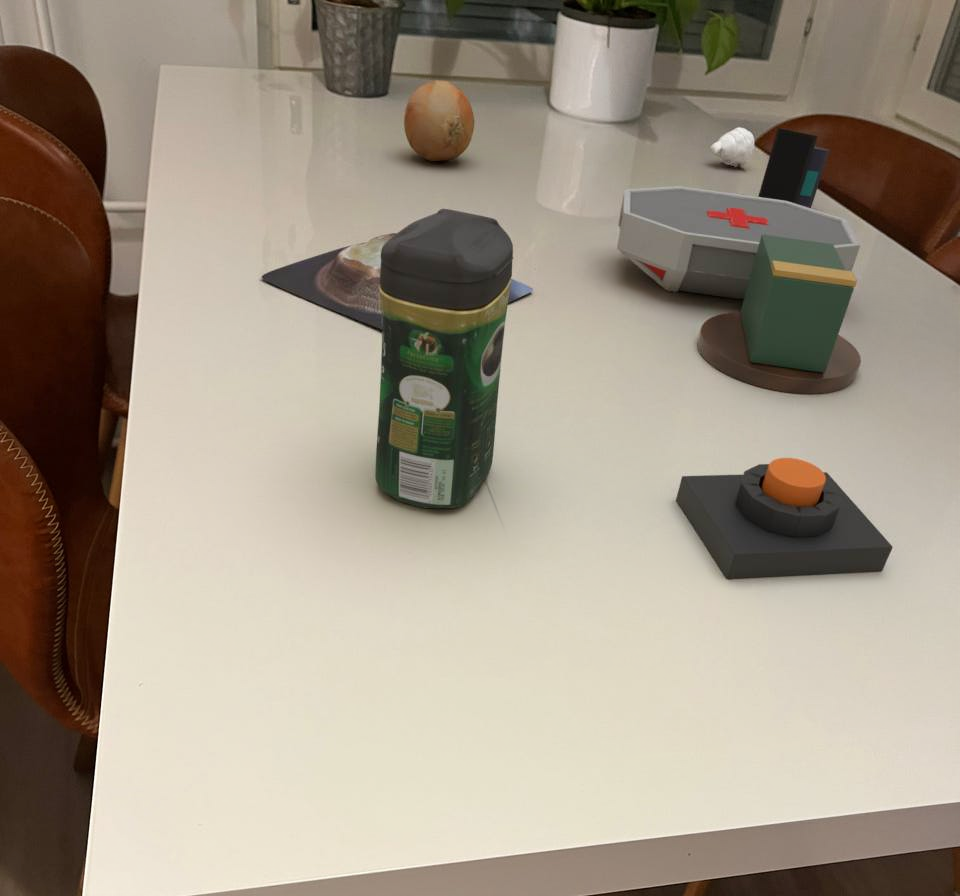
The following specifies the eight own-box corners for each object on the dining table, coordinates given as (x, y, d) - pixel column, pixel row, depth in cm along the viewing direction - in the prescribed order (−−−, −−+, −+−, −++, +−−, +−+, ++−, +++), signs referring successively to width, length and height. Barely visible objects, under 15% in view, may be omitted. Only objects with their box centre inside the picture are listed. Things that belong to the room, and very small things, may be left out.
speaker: (789, 221, 132) (813, 136, 126) (752, 211, 135) (775, 127, 129) (816, 219, 137) (841, 136, 131) (781, 209, 140) (804, 128, 134)
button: (802, 477, 72) (810, 456, 71) (828, 507, 69) (836, 486, 68) (752, 479, 71) (759, 457, 70) (776, 509, 68) (783, 487, 67)
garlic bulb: (699, 161, 153) (707, 123, 149) (730, 161, 155) (739, 123, 152) (718, 172, 149) (727, 133, 146) (750, 171, 151) (760, 132, 148)
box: (738, 313, 101) (762, 227, 95) (808, 323, 101) (836, 237, 95) (749, 362, 92) (775, 270, 86) (826, 373, 91) (857, 281, 86)
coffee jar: (406, 438, 78) (419, 191, 66) (501, 462, 76) (532, 214, 65) (357, 497, 71) (361, 232, 59) (461, 524, 69) (487, 258, 57)
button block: (817, 496, 77) (834, 451, 75) (882, 572, 70) (902, 525, 67) (675, 500, 75) (687, 454, 72) (726, 580, 67) (741, 531, 65)
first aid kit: (609, 297, 105) (843, 330, 104) (623, 225, 100) (867, 259, 100) (613, 244, 119) (819, 273, 118) (624, 178, 114) (840, 208, 113)
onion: (430, 174, 134) (435, 92, 128) (388, 154, 140) (391, 74, 133) (485, 167, 139) (492, 88, 133) (442, 148, 145) (447, 71, 138)
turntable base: (811, 325, 105) (815, 312, 104) (885, 393, 93) (891, 378, 92) (674, 324, 101) (678, 310, 100) (734, 394, 90) (738, 379, 89)
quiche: (536, 292, 104) (541, 254, 102) (411, 345, 91) (413, 303, 89) (388, 238, 113) (389, 201, 110) (255, 279, 100) (253, 239, 97)
